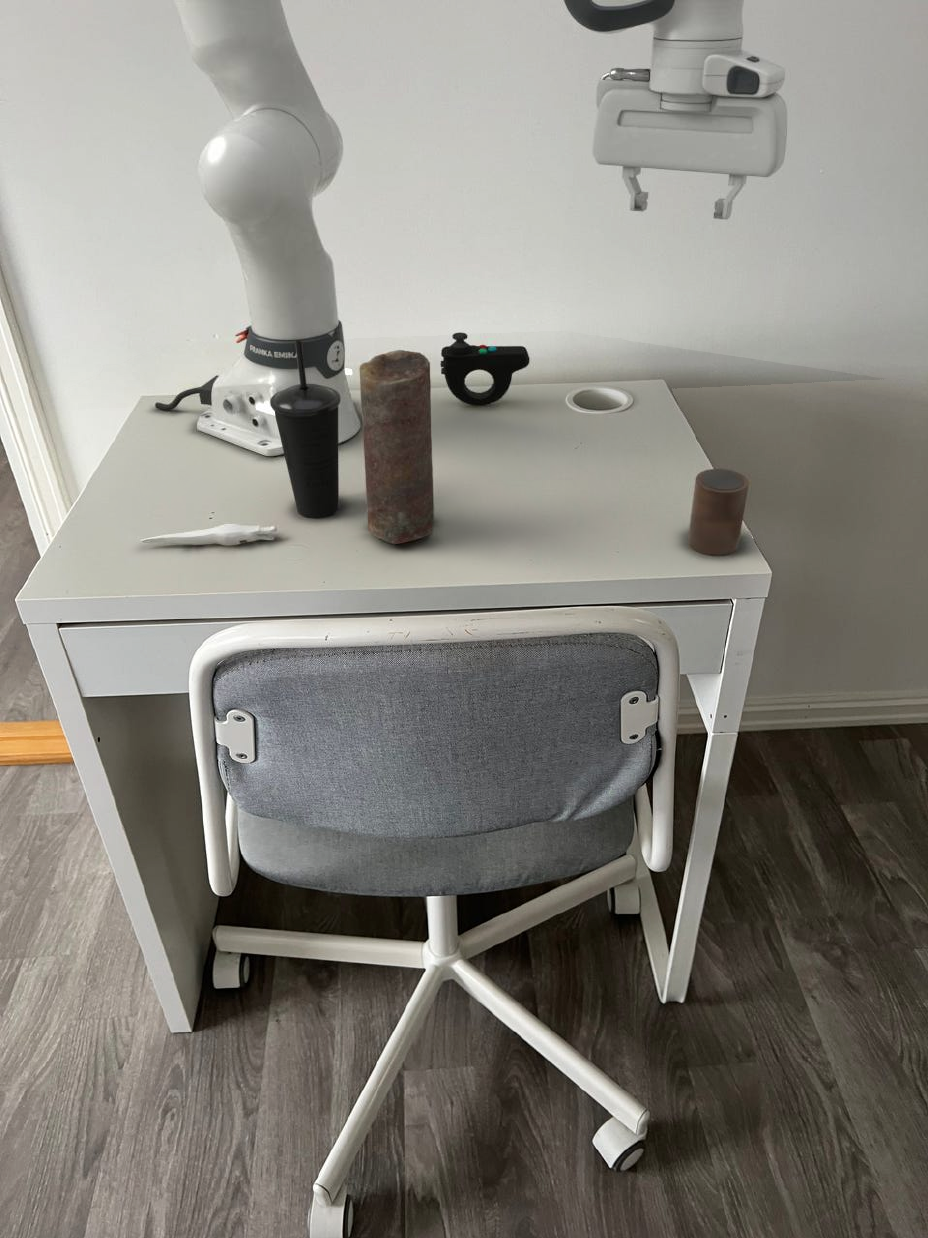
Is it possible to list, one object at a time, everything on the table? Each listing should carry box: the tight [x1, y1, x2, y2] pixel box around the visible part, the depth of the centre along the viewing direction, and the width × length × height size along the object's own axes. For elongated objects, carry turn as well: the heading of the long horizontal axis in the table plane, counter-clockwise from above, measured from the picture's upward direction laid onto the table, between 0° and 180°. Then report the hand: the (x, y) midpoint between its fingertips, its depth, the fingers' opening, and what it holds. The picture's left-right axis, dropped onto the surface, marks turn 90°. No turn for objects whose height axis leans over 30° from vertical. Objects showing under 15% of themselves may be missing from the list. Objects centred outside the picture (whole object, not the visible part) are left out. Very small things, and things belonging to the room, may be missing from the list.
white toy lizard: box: [139, 523, 278, 547], centre depth 108 cm, size 15×3×2 cm, turn 95°
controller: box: [439, 332, 531, 407], centre depth 136 cm, size 4×12×10 cm, turn 90°
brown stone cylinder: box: [358, 349, 435, 545], centre depth 103 cm, size 8×7×20 cm
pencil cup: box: [687, 468, 750, 557], centre depth 104 cm, size 5×5×8 cm
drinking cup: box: [270, 340, 341, 519], centre depth 109 cm, size 8×8×20 cm
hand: (679, 213), depth 107 cm, fingers open, 8 cm apart
